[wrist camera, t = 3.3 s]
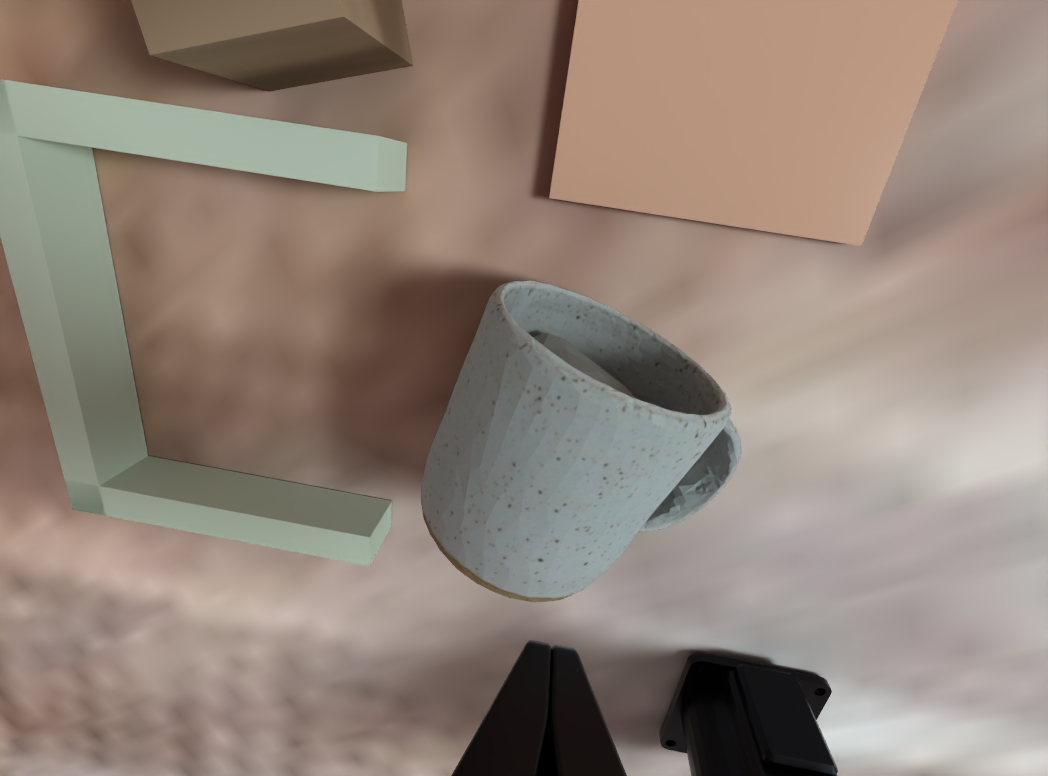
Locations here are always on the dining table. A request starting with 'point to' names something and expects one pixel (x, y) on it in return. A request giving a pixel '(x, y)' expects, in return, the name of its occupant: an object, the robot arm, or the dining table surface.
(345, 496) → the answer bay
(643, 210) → the terracotta tile
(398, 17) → the walnut block
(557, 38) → the dining table surface
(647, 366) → the ceramic mug
